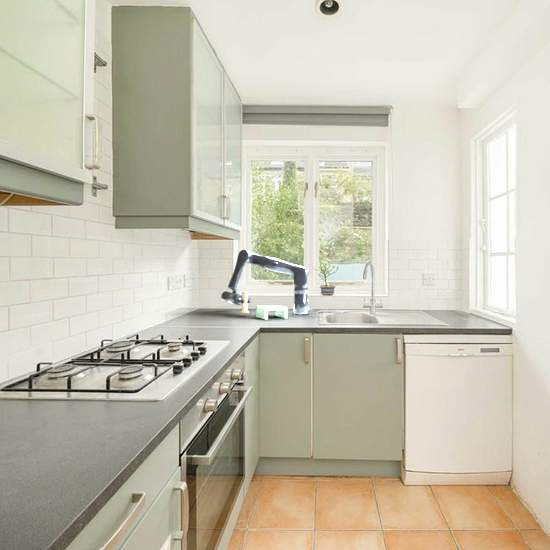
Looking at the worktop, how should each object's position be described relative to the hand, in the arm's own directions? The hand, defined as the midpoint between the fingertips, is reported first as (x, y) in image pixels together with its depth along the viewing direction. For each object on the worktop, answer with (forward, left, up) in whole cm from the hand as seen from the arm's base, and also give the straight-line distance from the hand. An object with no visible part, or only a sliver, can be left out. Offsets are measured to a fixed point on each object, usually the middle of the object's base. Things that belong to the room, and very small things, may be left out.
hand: (246, 301), depth 301 cm
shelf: (-14, +9, -10) cm, 19 cm away
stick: (0, -3, -8) cm, 8 cm away
